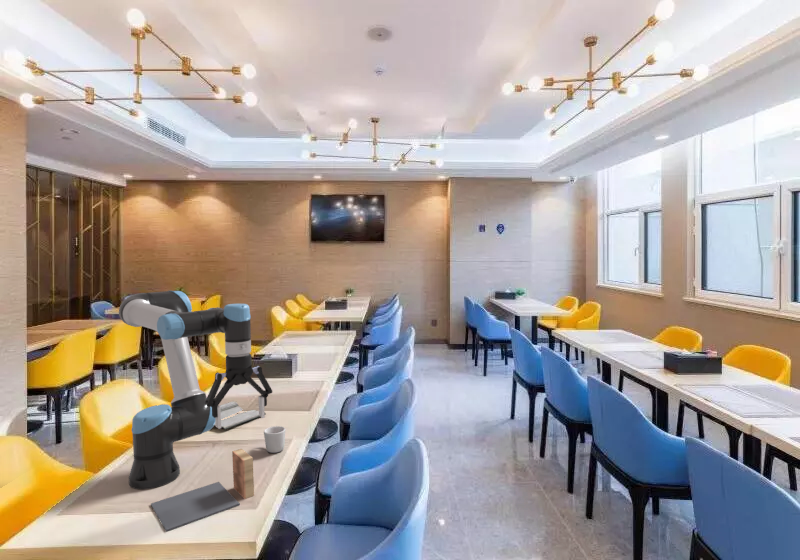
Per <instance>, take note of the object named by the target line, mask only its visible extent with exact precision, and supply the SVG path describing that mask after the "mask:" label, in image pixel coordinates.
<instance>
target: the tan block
mask: <svg viewBox="0 0 800 560" xmlns="http://www.w3.org/2000/svg"><path fill="white" fill-rule="evenodd" d="M231 455H232V456H231V457H232V476H233V489H234V490H235V491H236V492H237V493H238V494H239V495H240V496H241V497H242V498H243V499H244V500H246V499H249V498H251V497H254V496H255V481H254V478H255V477H254V457H253V456H251V455H250V454H249V453H248V452H246V451H245V450H244V449H243V448H240V449H236V450H233V451H232V454H231Z"/></svg>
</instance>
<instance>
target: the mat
mask: <svg viewBox="0 0 800 560" xmlns="http://www.w3.org/2000/svg"><path fill="white" fill-rule="evenodd" d="M219 406H220V407H221V419H223V418H225V417H228V416H230V415H232V414H235V413H237V412H239V411H242V410H244V409H243V408H242V407H241V406H240V405H239V403H238V402H237V401H234V400H232V401H230V402H227V403H226V402H225V403H224V404H221V405H220V404H219ZM265 415H267V413H266V412H265ZM257 418H261V417H260V416H259V410H256V409H251V410H247V412H246V411H244V413H243V412H242V413H240V414H237V415H235V416H233V417H230V418H227V419H224V420H221V429H224V430H225V431H227V430H228V429H230V428H233V427H236V426H238V425H241V424H243V423H246V422H249V421H252V420H255V419H257ZM213 427H216V421H215V424H214V426H213ZM216 428H217V427H216Z"/></svg>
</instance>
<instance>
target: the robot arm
mask: <svg viewBox="0 0 800 560" xmlns="http://www.w3.org/2000/svg"><path fill="white" fill-rule="evenodd" d="M192 307H193V306H192V303H191V300H190V298H189V297H188V295H187V294H186V293H185V292H183V291H181V290H167V291H164V290H163V291H153V292H140V293H136V294H132V295H130V296H128V297H126V298H125V299H124V300H123V301H122V302H121V303H120V306H119V309H118V315H119V318H120V321H122V322H123V323H124V324H126V325H128V326H131V327H133V328H139V327H140V328H141V327H143V328H147V329H150V330H153V331H154V332H157V333H158V335H159V336H160V339H161V345H162V348H163V353H164V357H165V361H166V365H167V370H168V374H169V378H170V379H169V380H170V384H171V388H172V393H173V399H172V400H171V402H170V404H165V403H164V404H163V403H162V404H159V405H151V406H149V407H146V408H143V409H141V410H140V411H138V412H137V413H136V414H134V416H133V418H132V419H131V421H132V422H131V423H132V427H131V433H132V446H133V447H132V449H133V461H132V465H131V467H130V468H131V469H130V472H129V473H128V474H129V475H128V485H129V487H130V488H132V489H137V490H147V489H154V488H158V487H162V486H165V485H167V484H170V483H171V482H173V481H174V480H176V479H177V478H178V477H180V474H181V469H180V465H179V462H178V460H177V458H176V455H175V453H174V446H173V445H174V443H176V442H179V441H182V440H185V439H188V438H192V437H195V436H199V435H202V434H203V433H207V432H209V431H211V430H212V429H213V428H214V427H215V426H214V424H215V421H216V428H217V429H219V430H221V429H222V427H221V407H220V404H221V402H222V400H223V399H224V398H225V397H226V395H227V393H228V392H229V391H230V390H231V389H232V388H233V387H234V386H239V385H246V383H248V384H249V385H250V386H252V387H253V389H255V391H257V392H258V393H259V394H260V395H258V411H259V416H260V417H259V418H262V419H264V418H266V417H265V413H266V411H265V407H266V406H267V405H268V403H267V402H268V397H269V395H271V394H272V393H273V389H272V388H271V386H270V384H269V382H268V380H267V378H266V377H265V375H264V373H263V367H262V366H259V365H256V366H254V367H252V362H253V361H252V354H251V353H252V340H251V339H252V338H251V337H252V336H251V335H252V332H251V331H252V329H251V328H252V327H251V318H252V317H251V316H252V315H251V311H250V306H249V305H248V304H247V303H229V304H226V305H224V307H223V308H221V307H209V308H207V309H204V310H203V309H202V310H195V311H194V310H193V308H192ZM216 333H217V334H219V333H221V334H224V349H225V351H224V352H225V355H226V356H225V372H218V371H217V372H215V375H214V381H213V383H212V385H211V388H210V390H209V392H208V395H207V393H206V392H205V391H203V390H201V388H200V385H199V380H198V376H197V372H196V367H195V363H194V360H193V355H192V351H191V347H190V343H189V337H194V336H195V337H196V336H204V335H209V334H216ZM253 373H254V374H256V376H257V379H259V380H258V381H260V383H261V385H262V387H263V388H264V389H263V388H262V387H261V386H260V385H259V384H258V383H257V382H256V381H255V380H254V379H253V378H252V375H253ZM225 378H226V381H225V382H224V383H223V386H222V387H221V388H220V386H221V383H222V381H224V379H225ZM219 389H220V390H219Z"/></svg>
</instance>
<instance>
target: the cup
mask: <svg viewBox="0 0 800 560" xmlns="http://www.w3.org/2000/svg"><path fill="white" fill-rule="evenodd" d="M263 435H264V436H263V437H264V443H265V450H266V451H267V452H268V453H271V454H276V453H280V452H282V451H283V450H284V448H285V444H286V443H285V441H286V427H284V426H281V425H279V426H278V425H275V426H269V427H267V428H265V429H264V430H263Z"/></svg>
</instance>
